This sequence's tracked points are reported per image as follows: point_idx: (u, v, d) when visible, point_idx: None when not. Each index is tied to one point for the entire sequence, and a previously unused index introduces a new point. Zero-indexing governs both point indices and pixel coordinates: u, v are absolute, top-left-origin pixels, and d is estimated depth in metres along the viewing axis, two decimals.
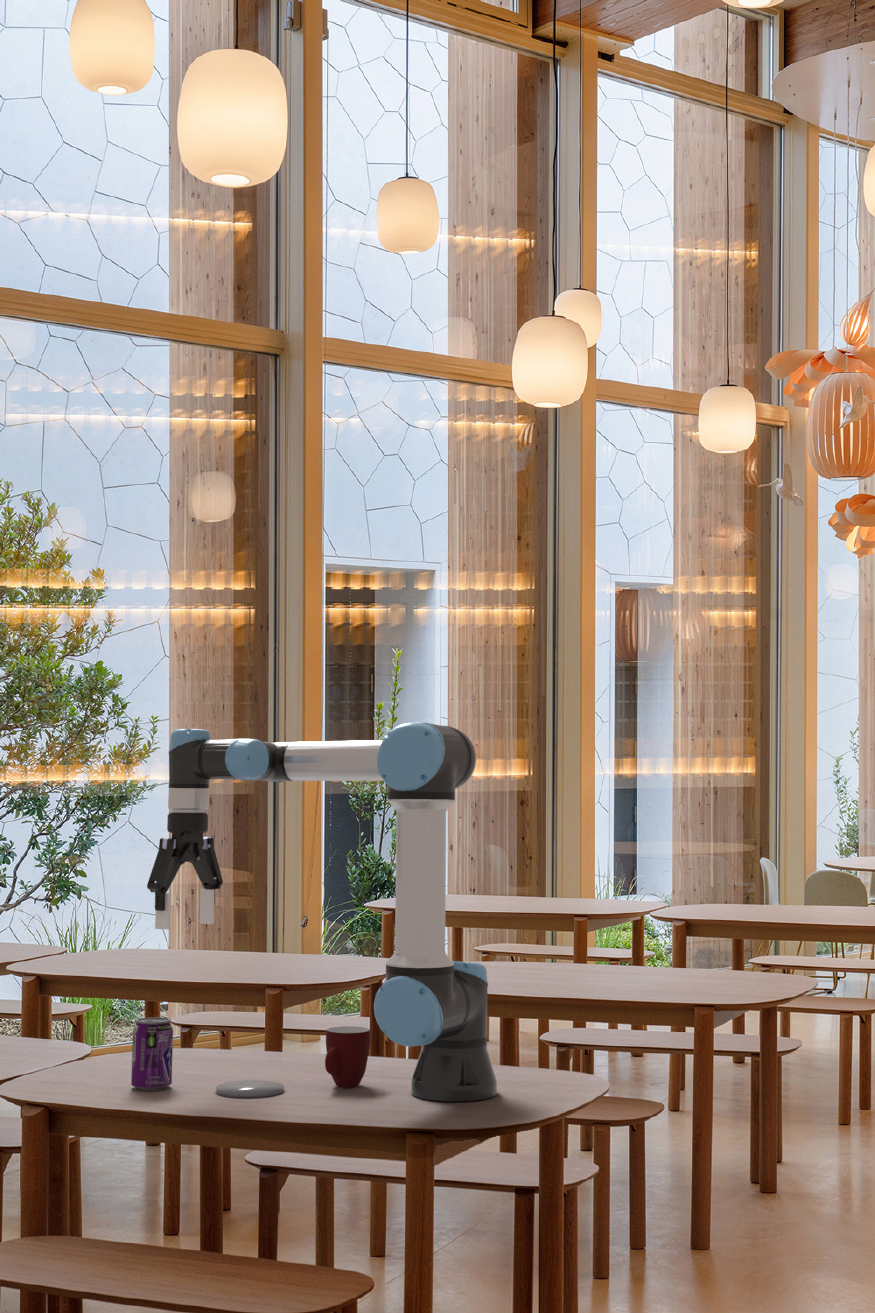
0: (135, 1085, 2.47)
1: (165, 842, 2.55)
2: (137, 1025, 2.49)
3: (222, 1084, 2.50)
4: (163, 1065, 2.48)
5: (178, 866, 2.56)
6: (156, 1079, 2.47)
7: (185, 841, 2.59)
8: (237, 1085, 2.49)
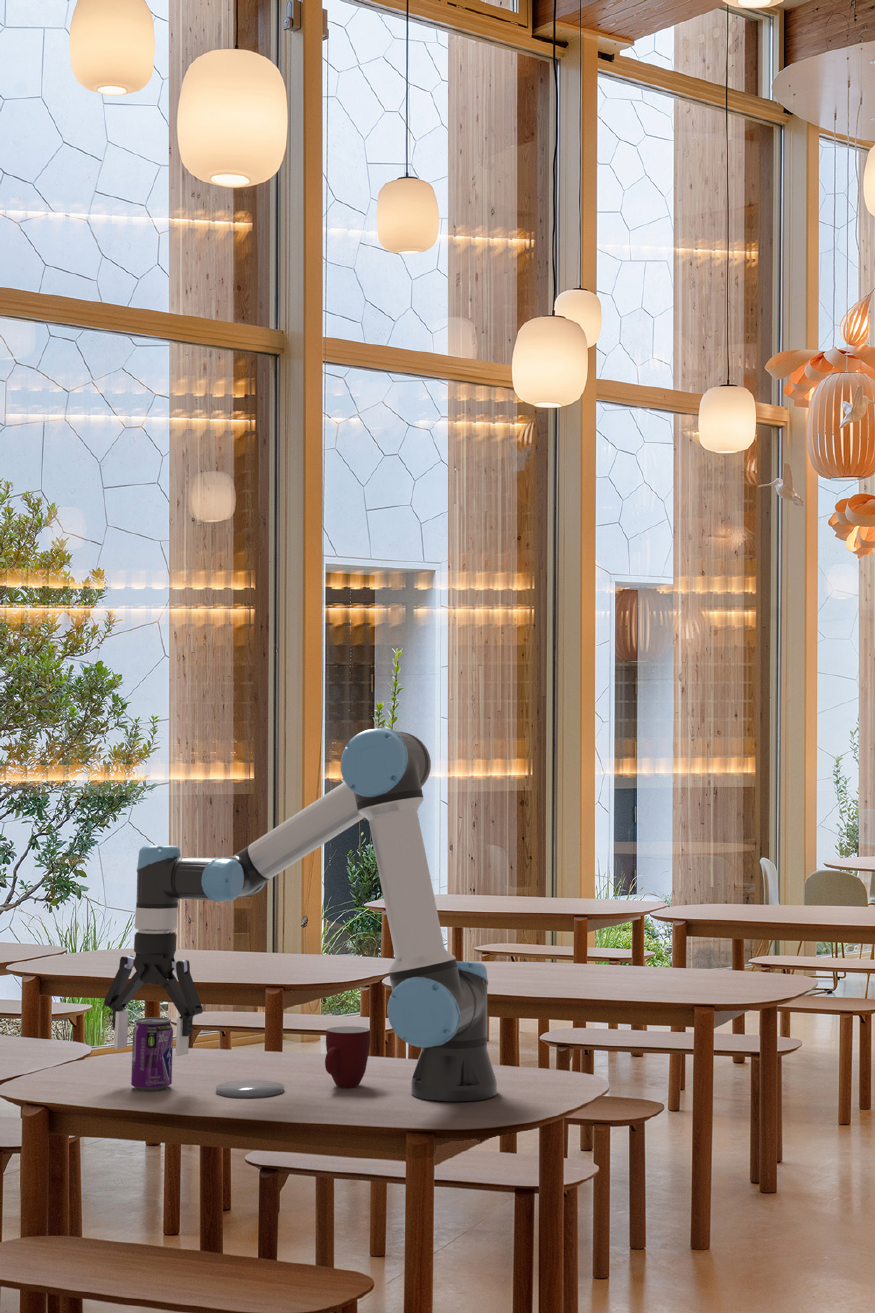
0: (135, 1085, 2.47)
1: None
2: (137, 1025, 2.49)
3: (222, 1084, 2.50)
4: (163, 1065, 2.48)
5: (130, 986, 2.53)
6: (156, 1079, 2.47)
7: (141, 961, 2.52)
8: (237, 1085, 2.49)
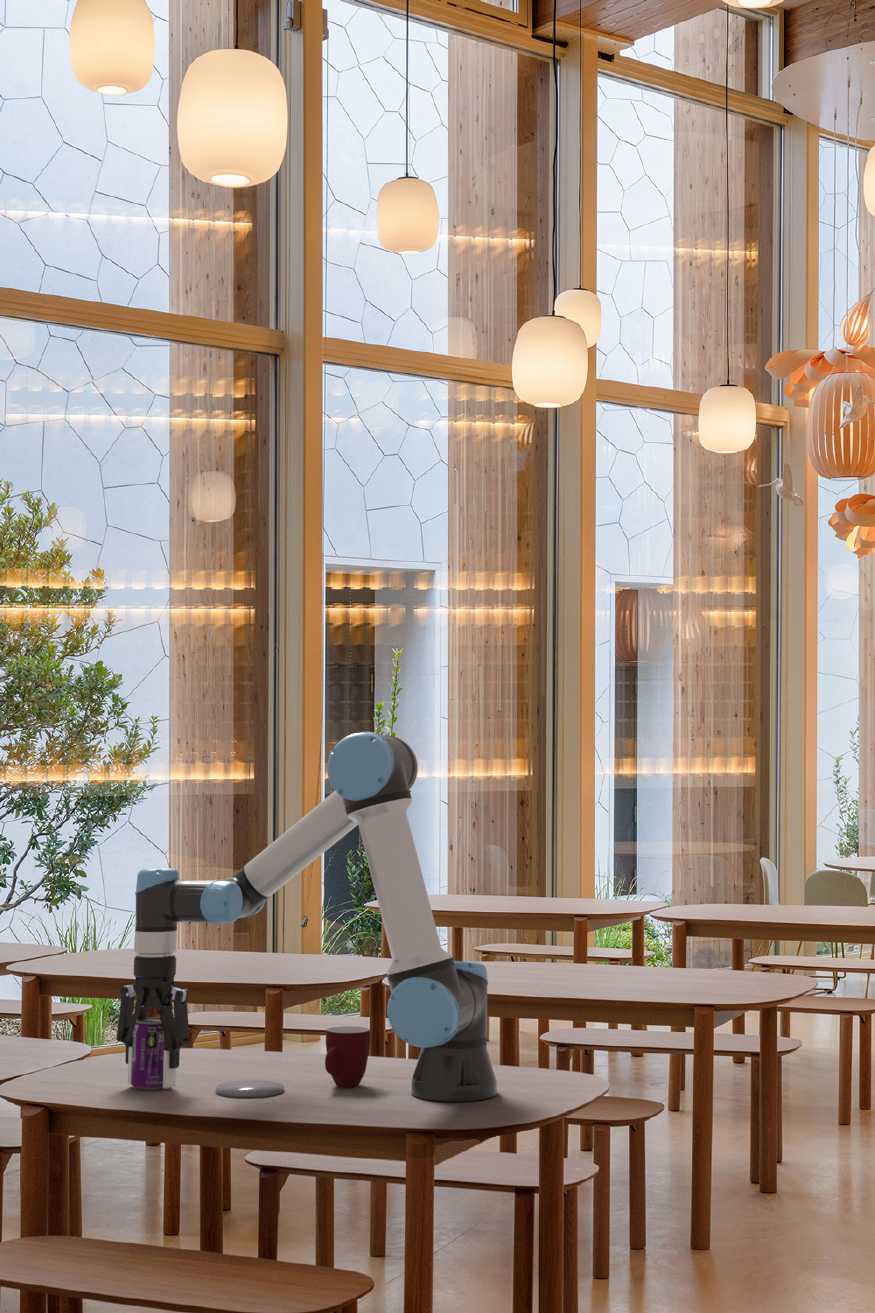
0: (135, 1085, 2.47)
1: None
2: (137, 1025, 2.49)
3: (222, 1084, 2.50)
4: None
5: (137, 1015, 2.51)
6: (156, 1079, 2.47)
7: (140, 983, 2.52)
8: (237, 1085, 2.49)
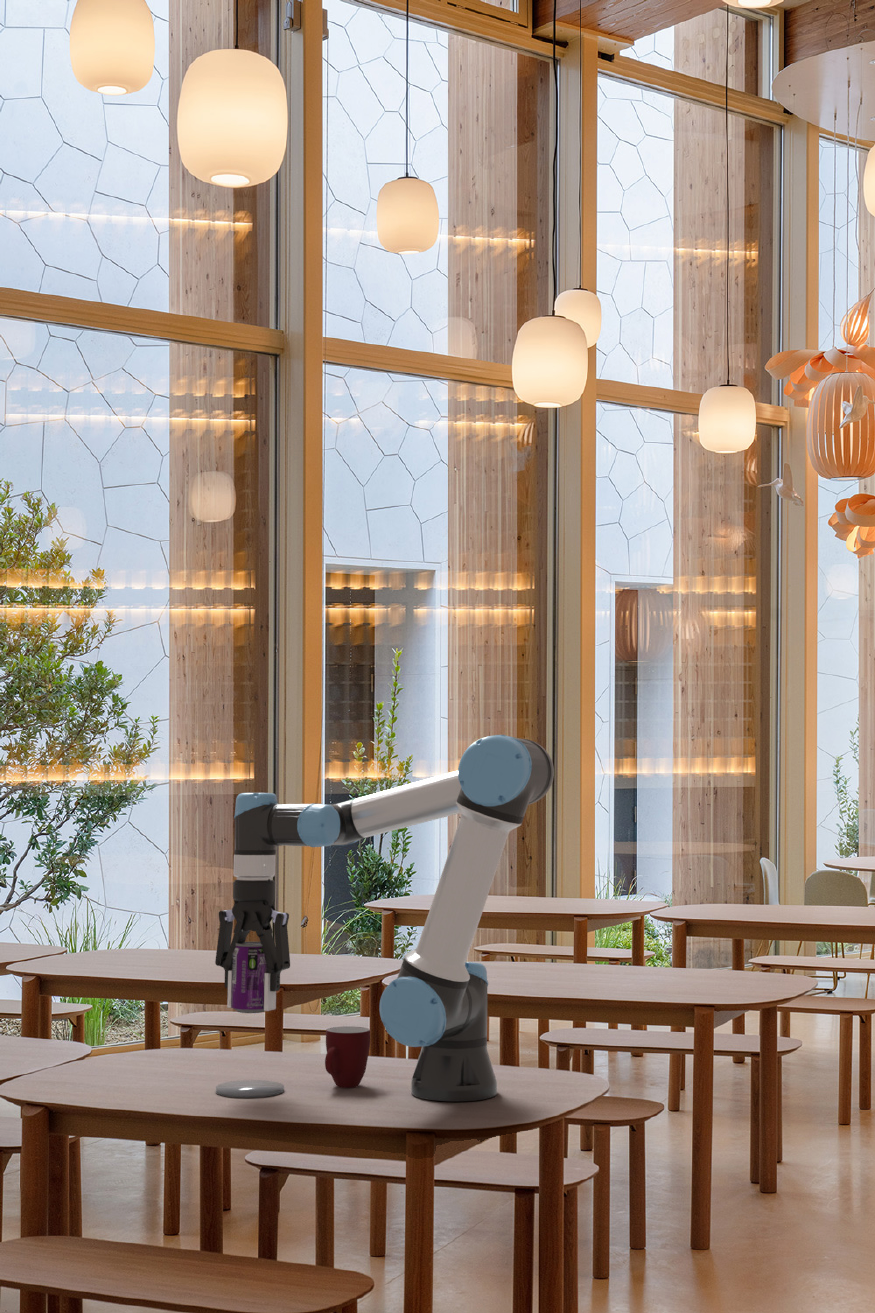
0: (236, 1007, 2.47)
1: None
2: (237, 948, 2.49)
3: (222, 1084, 2.50)
4: None
5: (236, 939, 2.51)
6: (257, 1001, 2.46)
7: (240, 907, 2.51)
8: (237, 1085, 2.49)
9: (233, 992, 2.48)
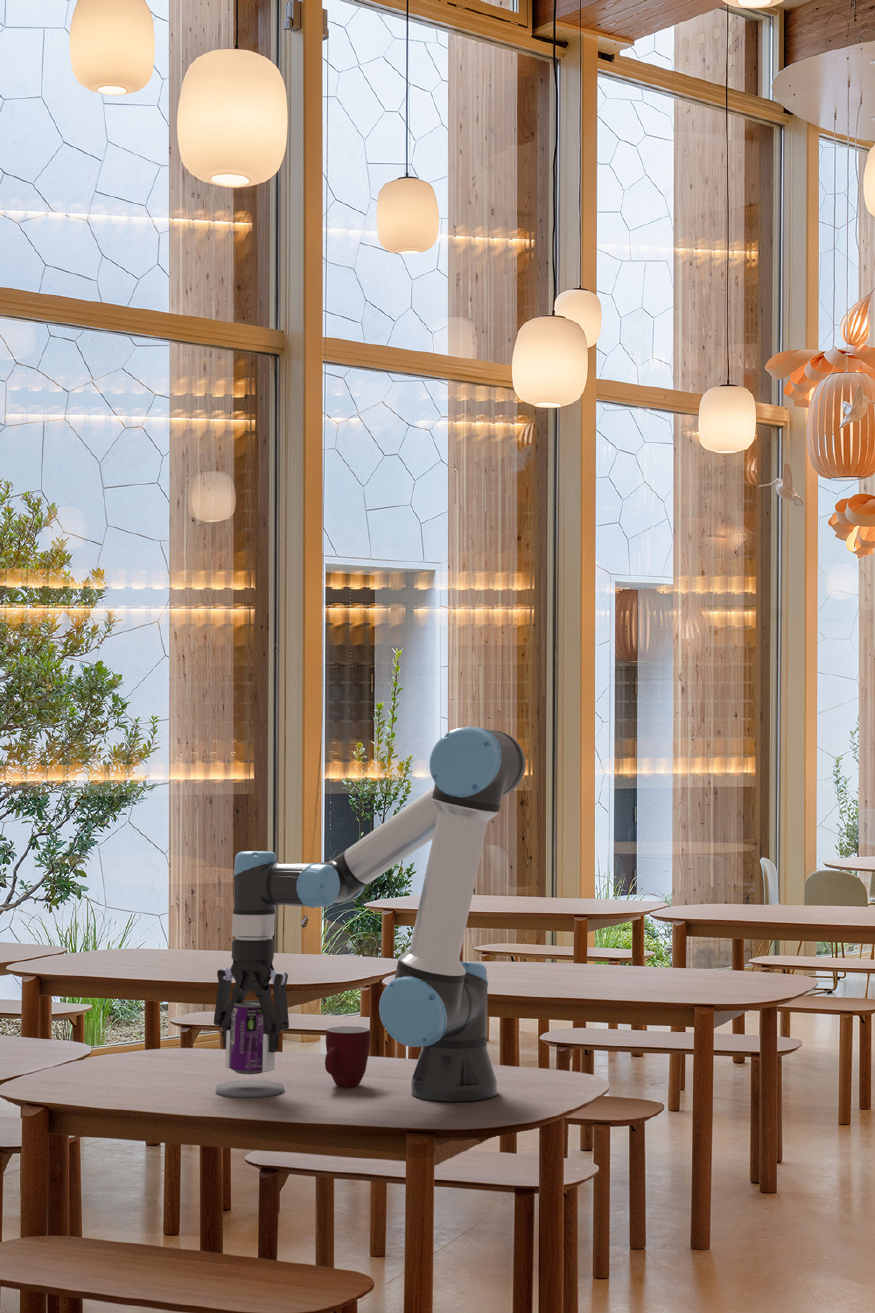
0: (234, 1068, 2.46)
1: None
2: (236, 1008, 2.48)
3: (222, 1084, 2.50)
4: None
5: (235, 998, 2.50)
6: (256, 1063, 2.45)
7: (238, 967, 2.50)
8: (237, 1085, 2.49)
9: (231, 1053, 2.47)
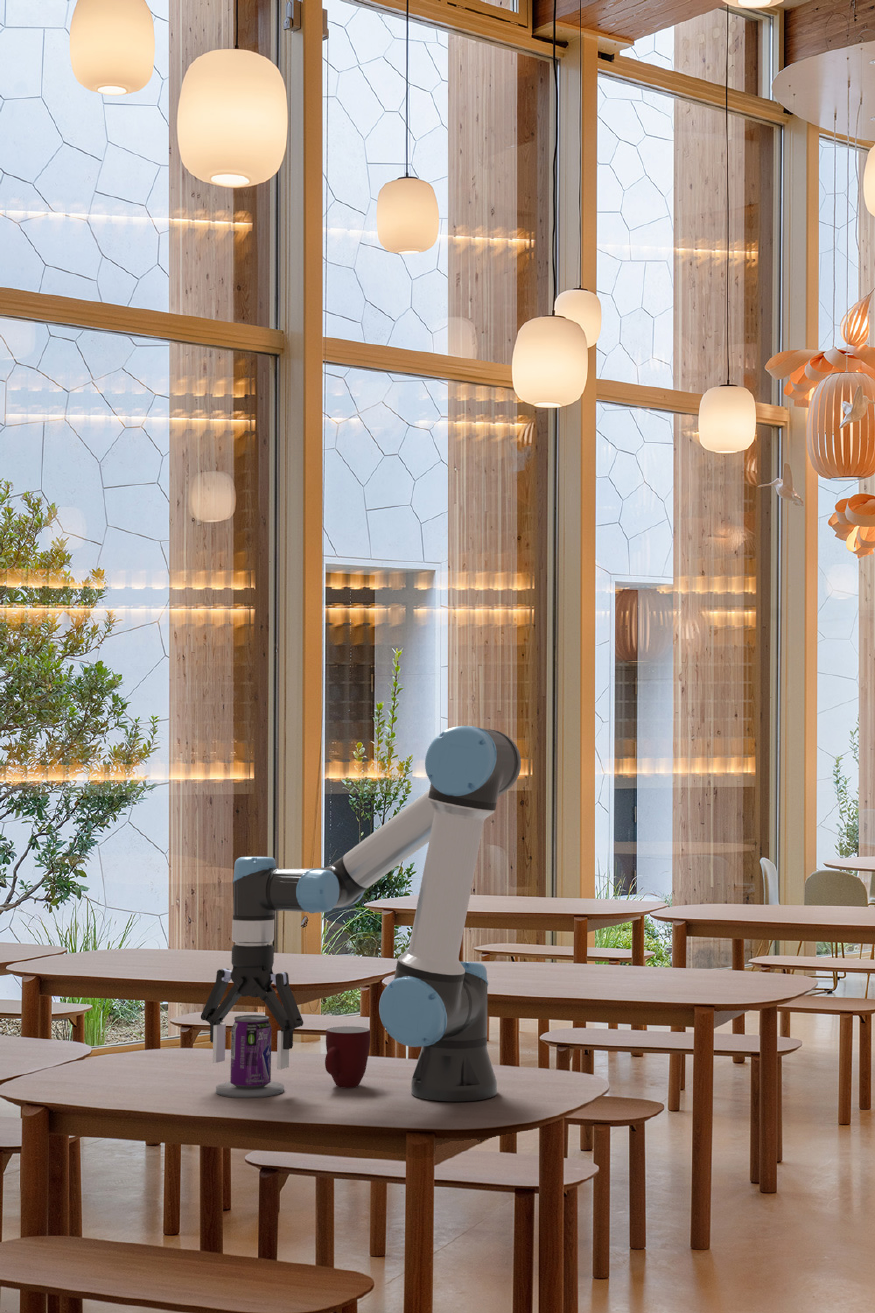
0: (235, 1083, 2.45)
1: None
2: (236, 1023, 2.47)
3: (222, 1084, 2.50)
4: (263, 1063, 2.46)
5: (228, 999, 2.50)
6: (256, 1077, 2.45)
7: (239, 974, 2.50)
8: None
9: (232, 1067, 2.46)
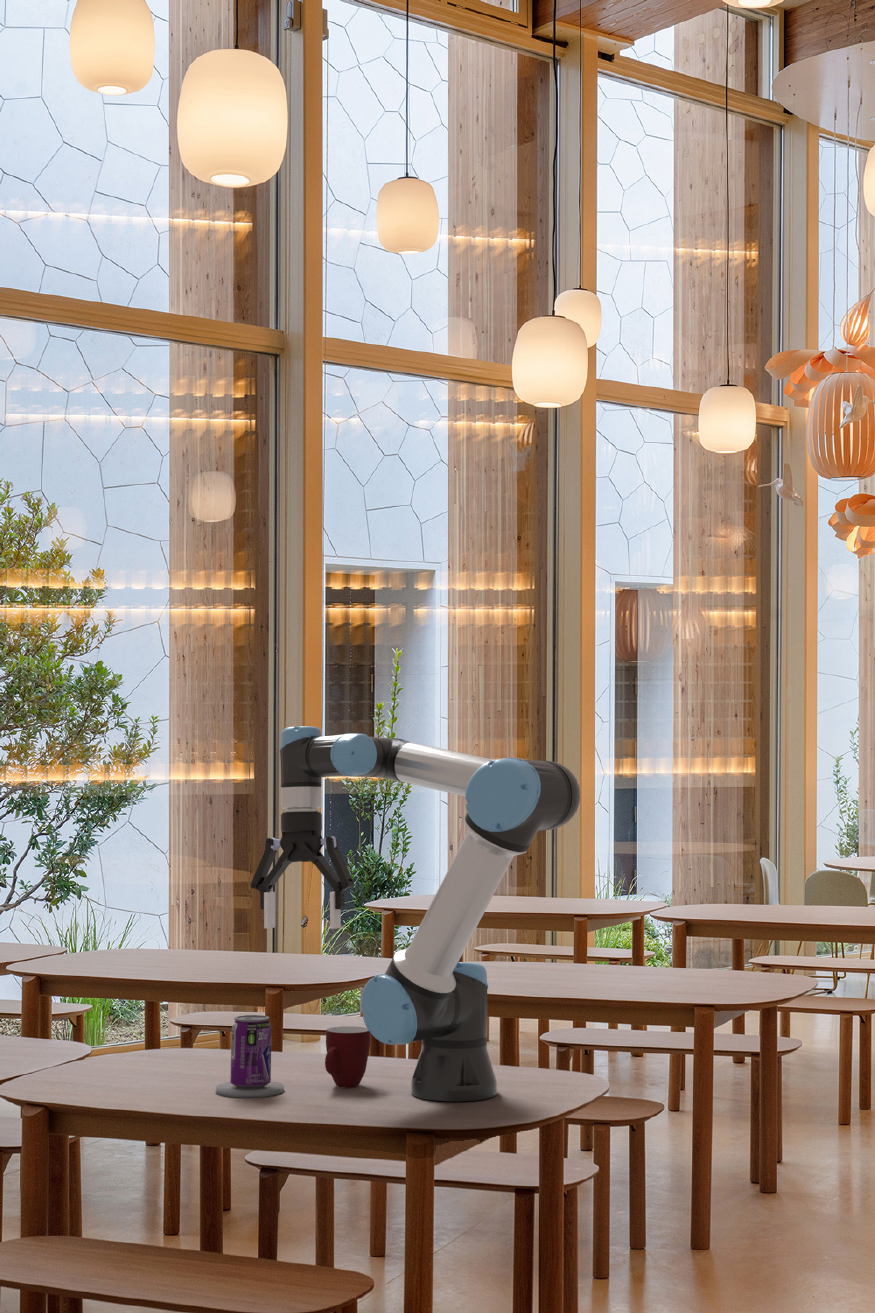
0: (235, 1083, 2.45)
1: None
2: (236, 1023, 2.47)
3: (222, 1084, 2.50)
4: (263, 1063, 2.46)
5: (278, 866, 2.56)
6: (256, 1077, 2.45)
7: (288, 841, 2.56)
8: None
9: (232, 1067, 2.46)
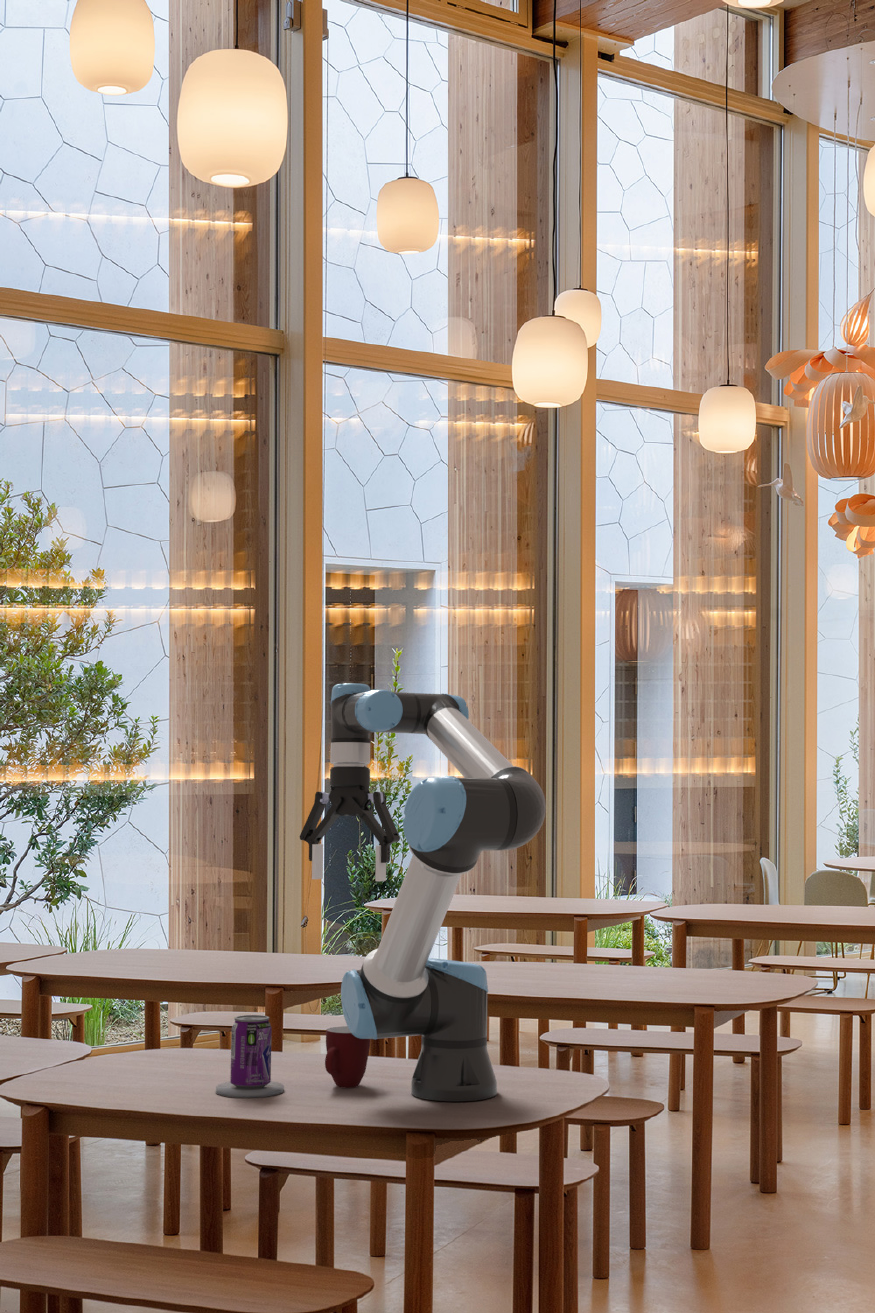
0: (235, 1083, 2.45)
1: None
2: (236, 1023, 2.47)
3: (222, 1084, 2.50)
4: (263, 1063, 2.46)
5: (327, 819, 2.62)
6: (256, 1077, 2.45)
7: (337, 795, 2.62)
8: None
9: (232, 1067, 2.46)
